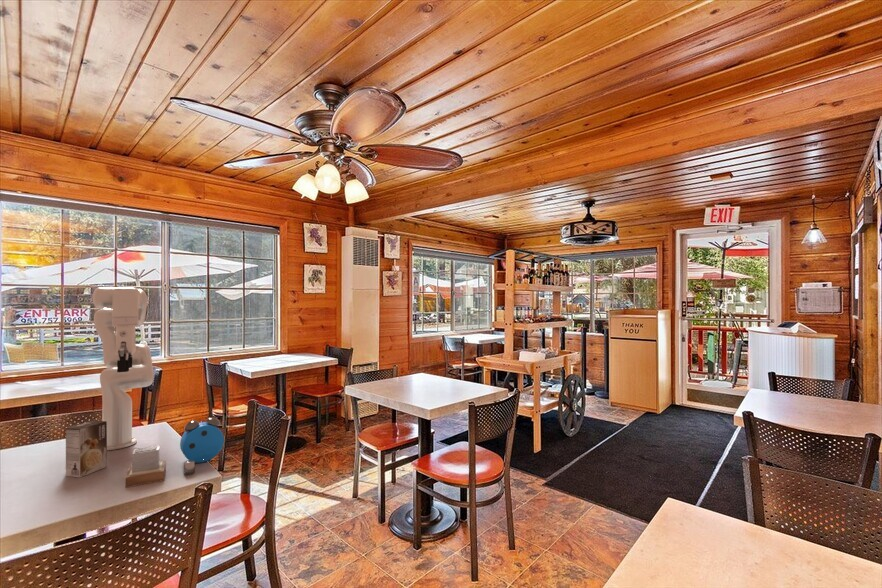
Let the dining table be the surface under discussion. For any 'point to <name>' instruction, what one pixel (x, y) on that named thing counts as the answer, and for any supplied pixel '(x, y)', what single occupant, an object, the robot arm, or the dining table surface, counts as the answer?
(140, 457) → the housing
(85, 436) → the coffee box
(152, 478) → the picture frame
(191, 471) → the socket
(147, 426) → the dining table surface
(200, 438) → the alarm clock
